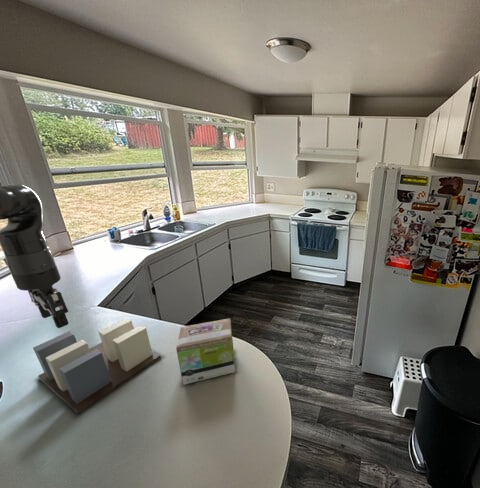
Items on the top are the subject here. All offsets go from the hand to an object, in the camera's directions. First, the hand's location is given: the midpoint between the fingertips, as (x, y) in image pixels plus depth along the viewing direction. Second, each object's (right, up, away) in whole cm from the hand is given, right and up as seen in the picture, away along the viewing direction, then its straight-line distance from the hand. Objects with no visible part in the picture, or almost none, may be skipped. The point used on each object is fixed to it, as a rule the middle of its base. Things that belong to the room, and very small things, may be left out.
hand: (55, 321), depth 68 cm
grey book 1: (-8, -18, +10) cm, 22 cm away
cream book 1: (-1, -20, +7) cm, 21 cm away
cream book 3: (+12, -18, +14) cm, 25 cm away
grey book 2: (+6, -21, +4) cm, 22 cm away
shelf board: (+2, -19, +13) cm, 23 cm away
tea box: (+36, -20, +14) cm, 43 cm away
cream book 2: (+5, -16, +17) cm, 24 cm away
